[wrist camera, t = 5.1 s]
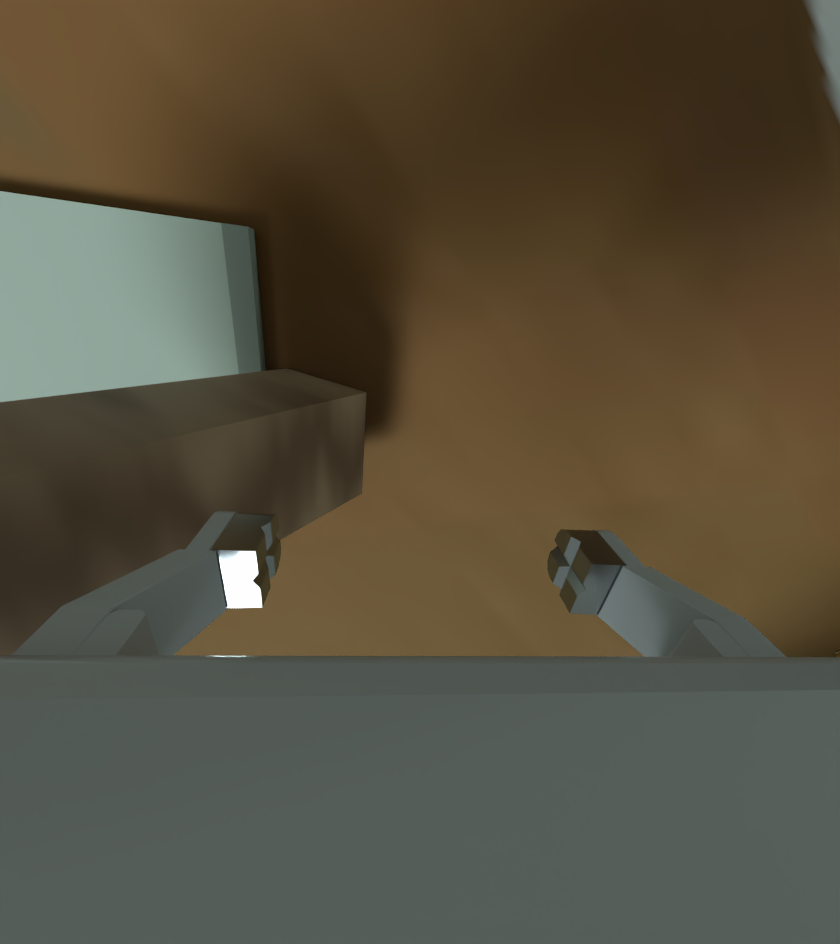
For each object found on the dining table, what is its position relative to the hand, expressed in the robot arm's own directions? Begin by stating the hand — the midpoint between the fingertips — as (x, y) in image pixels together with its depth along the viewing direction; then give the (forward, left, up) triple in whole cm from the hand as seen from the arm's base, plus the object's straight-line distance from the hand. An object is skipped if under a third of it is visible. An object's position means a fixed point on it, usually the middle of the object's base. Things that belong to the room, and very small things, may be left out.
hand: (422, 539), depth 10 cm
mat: (0, +14, -10) cm, 17 cm away
